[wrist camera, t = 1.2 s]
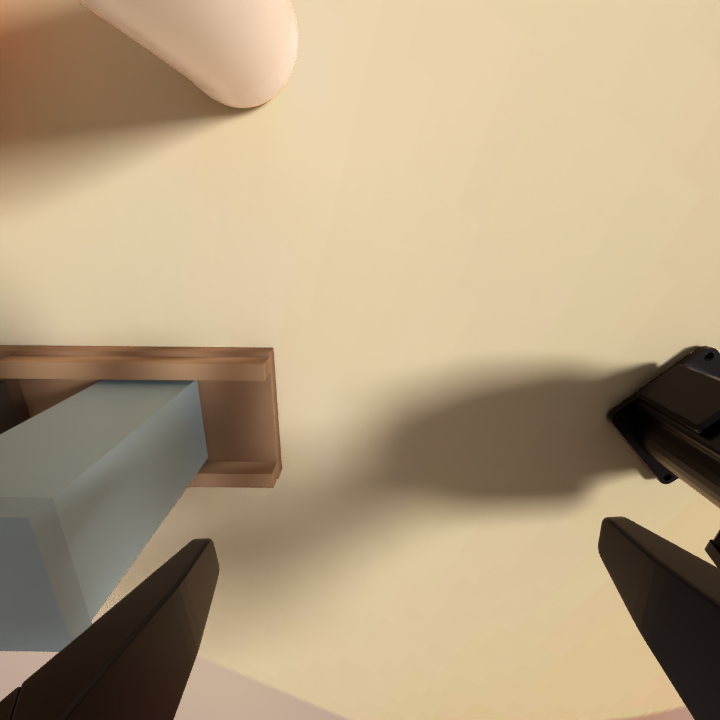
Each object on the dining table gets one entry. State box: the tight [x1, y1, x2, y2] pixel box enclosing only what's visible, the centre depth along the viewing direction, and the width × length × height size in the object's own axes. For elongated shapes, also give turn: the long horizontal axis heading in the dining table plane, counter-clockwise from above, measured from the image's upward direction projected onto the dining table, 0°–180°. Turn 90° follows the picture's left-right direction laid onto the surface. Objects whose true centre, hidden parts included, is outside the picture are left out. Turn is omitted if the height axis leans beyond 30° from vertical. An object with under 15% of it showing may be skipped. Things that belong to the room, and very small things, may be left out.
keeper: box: [0, 379, 208, 652], centre depth 16 cm, size 5×5×11 cm
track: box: [0, 345, 282, 488], centre depth 18 cm, size 16×8×9 cm, turn 90°
